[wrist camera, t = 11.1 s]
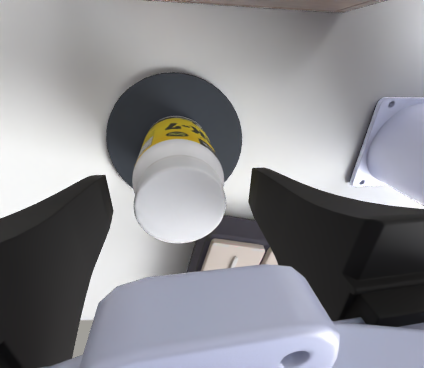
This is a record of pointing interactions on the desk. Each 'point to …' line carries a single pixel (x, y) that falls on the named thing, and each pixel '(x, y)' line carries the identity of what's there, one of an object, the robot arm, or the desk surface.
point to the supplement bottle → (178, 182)
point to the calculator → (231, 246)
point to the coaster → (172, 106)
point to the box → (289, 4)
